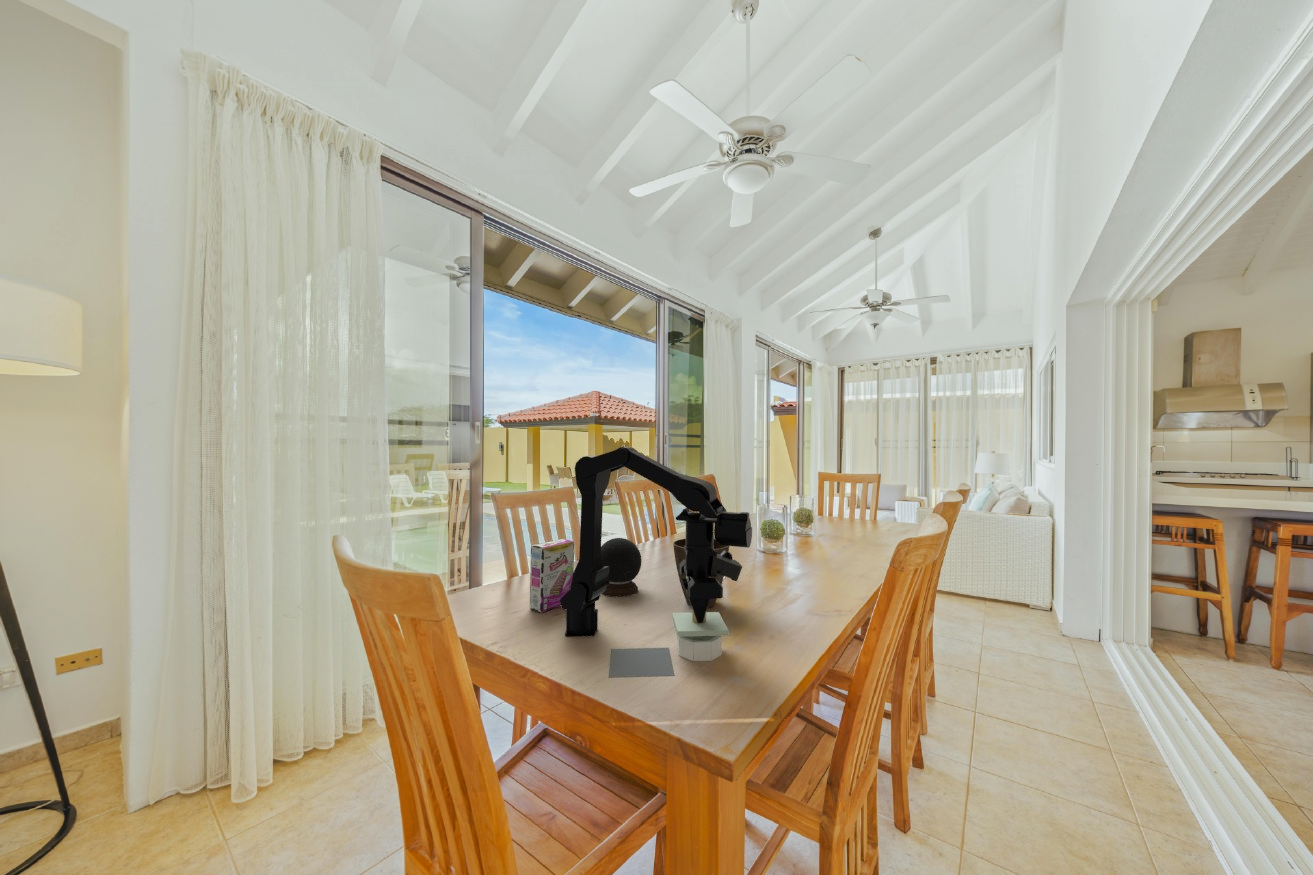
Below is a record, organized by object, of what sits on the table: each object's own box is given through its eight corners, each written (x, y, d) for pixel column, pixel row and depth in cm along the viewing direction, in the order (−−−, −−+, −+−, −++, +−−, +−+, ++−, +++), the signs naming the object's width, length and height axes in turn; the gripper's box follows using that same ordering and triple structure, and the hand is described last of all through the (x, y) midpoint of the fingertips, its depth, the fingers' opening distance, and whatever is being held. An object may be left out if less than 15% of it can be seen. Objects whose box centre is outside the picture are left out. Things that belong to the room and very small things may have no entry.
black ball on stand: (629, 581, 150) (629, 532, 150) (649, 593, 138) (649, 540, 138) (588, 587, 143) (589, 536, 143) (605, 600, 132) (606, 544, 132)
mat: (608, 679, 89) (608, 677, 89) (610, 650, 101) (610, 648, 101) (674, 677, 89) (674, 675, 89) (668, 649, 101) (668, 647, 101)
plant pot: (675, 593, 138) (676, 536, 139) (729, 595, 136) (729, 538, 136) (669, 611, 124) (670, 548, 124) (729, 614, 122) (729, 550, 122)
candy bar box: (542, 613, 122) (542, 547, 122) (529, 609, 125) (529, 545, 125) (574, 601, 131) (575, 540, 131) (561, 598, 134) (561, 538, 134)
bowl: (680, 663, 95) (680, 642, 95) (675, 644, 104) (676, 625, 104) (724, 662, 96) (724, 641, 96) (716, 643, 104) (716, 624, 104)
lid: (677, 636, 95) (677, 613, 95) (672, 617, 105) (672, 596, 105) (728, 635, 95) (728, 612, 95) (718, 616, 105) (718, 595, 105)
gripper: (750, 553, 91) (749, 637, 91) (728, 533, 110) (728, 603, 110) (690, 554, 90) (690, 638, 90) (679, 534, 109) (678, 604, 109)
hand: (699, 619), depth 100 cm, fingers closed on lid, 3 cm apart
